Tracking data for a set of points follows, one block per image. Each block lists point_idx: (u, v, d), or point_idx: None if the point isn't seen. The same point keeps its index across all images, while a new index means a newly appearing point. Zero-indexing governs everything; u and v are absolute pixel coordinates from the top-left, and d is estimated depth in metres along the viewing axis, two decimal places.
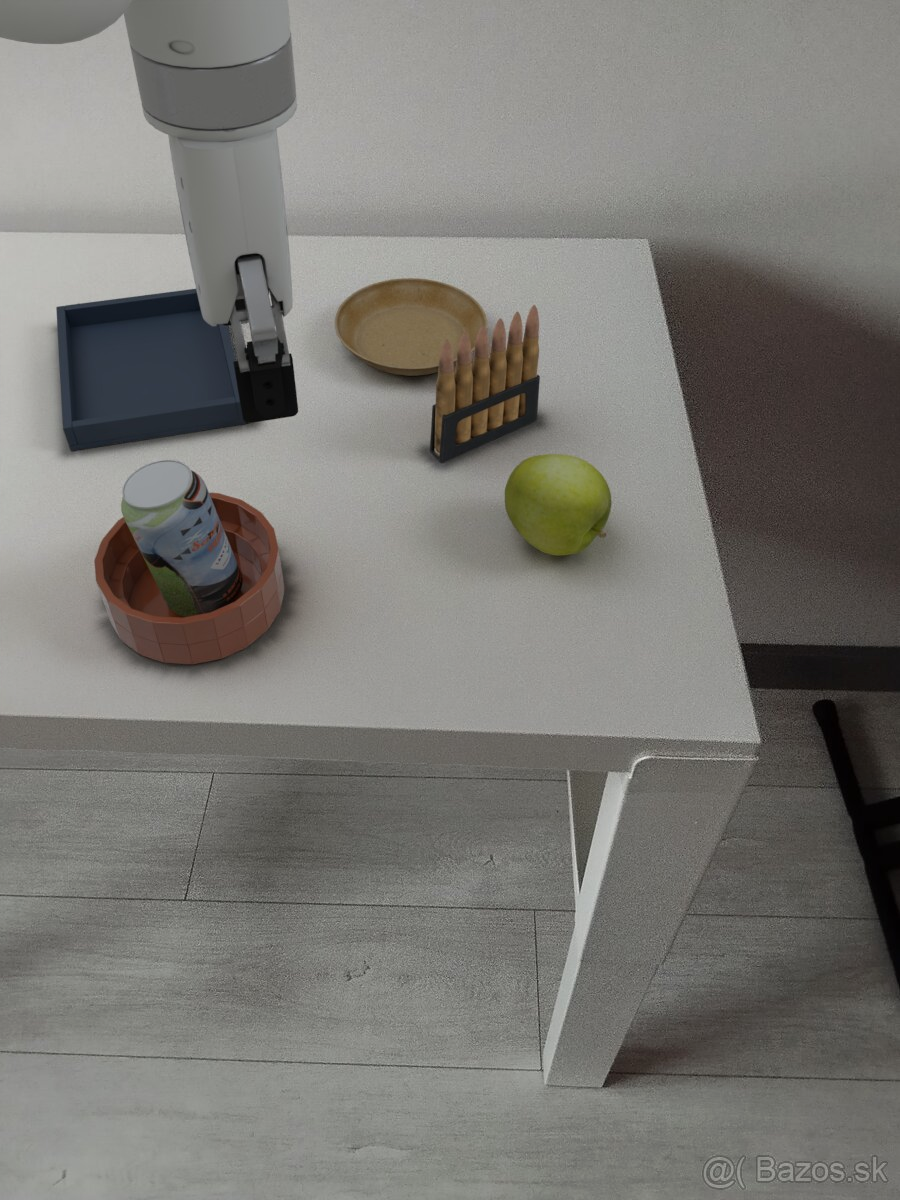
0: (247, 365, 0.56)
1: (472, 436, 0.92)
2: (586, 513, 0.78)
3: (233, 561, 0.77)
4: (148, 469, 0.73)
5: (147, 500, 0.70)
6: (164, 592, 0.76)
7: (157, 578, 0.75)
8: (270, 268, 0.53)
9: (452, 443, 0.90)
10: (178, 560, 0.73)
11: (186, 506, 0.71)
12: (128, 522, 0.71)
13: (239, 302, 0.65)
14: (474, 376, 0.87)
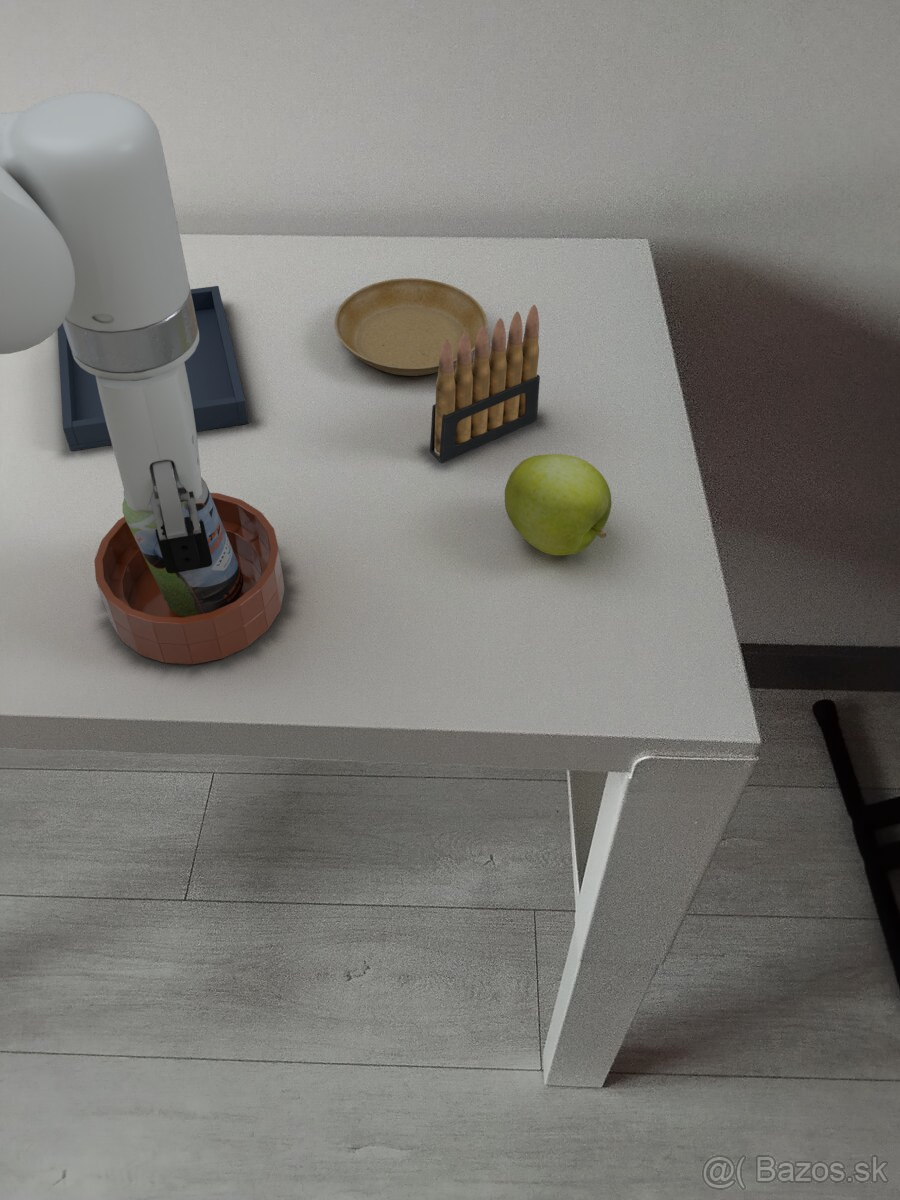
0: (165, 535, 0.69)
1: (472, 436, 0.92)
2: (586, 513, 0.78)
3: (234, 562, 0.77)
4: None
5: None
6: (165, 592, 0.76)
7: (158, 579, 0.75)
8: (180, 469, 0.64)
9: (452, 443, 0.90)
10: None
11: None
12: (129, 523, 0.71)
13: None
14: (474, 376, 0.87)
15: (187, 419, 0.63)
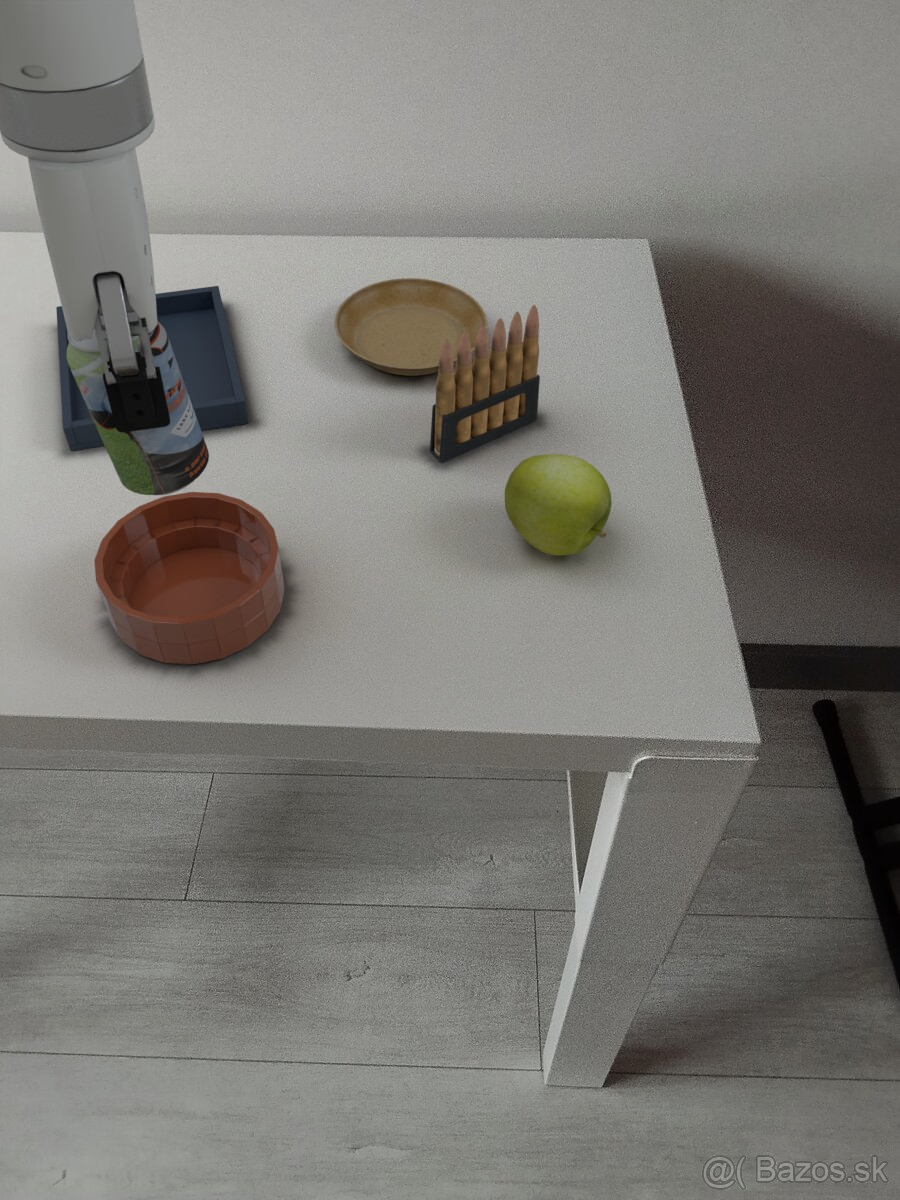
0: (113, 377, 0.58)
1: (472, 436, 0.92)
2: (586, 513, 0.78)
3: (198, 431, 0.67)
4: None
5: (97, 343, 0.60)
6: (117, 463, 0.66)
7: (108, 444, 0.65)
8: (129, 286, 0.54)
9: (452, 443, 0.90)
10: None
11: None
12: (74, 370, 0.61)
13: None
14: (474, 376, 0.87)
15: (138, 221, 0.53)
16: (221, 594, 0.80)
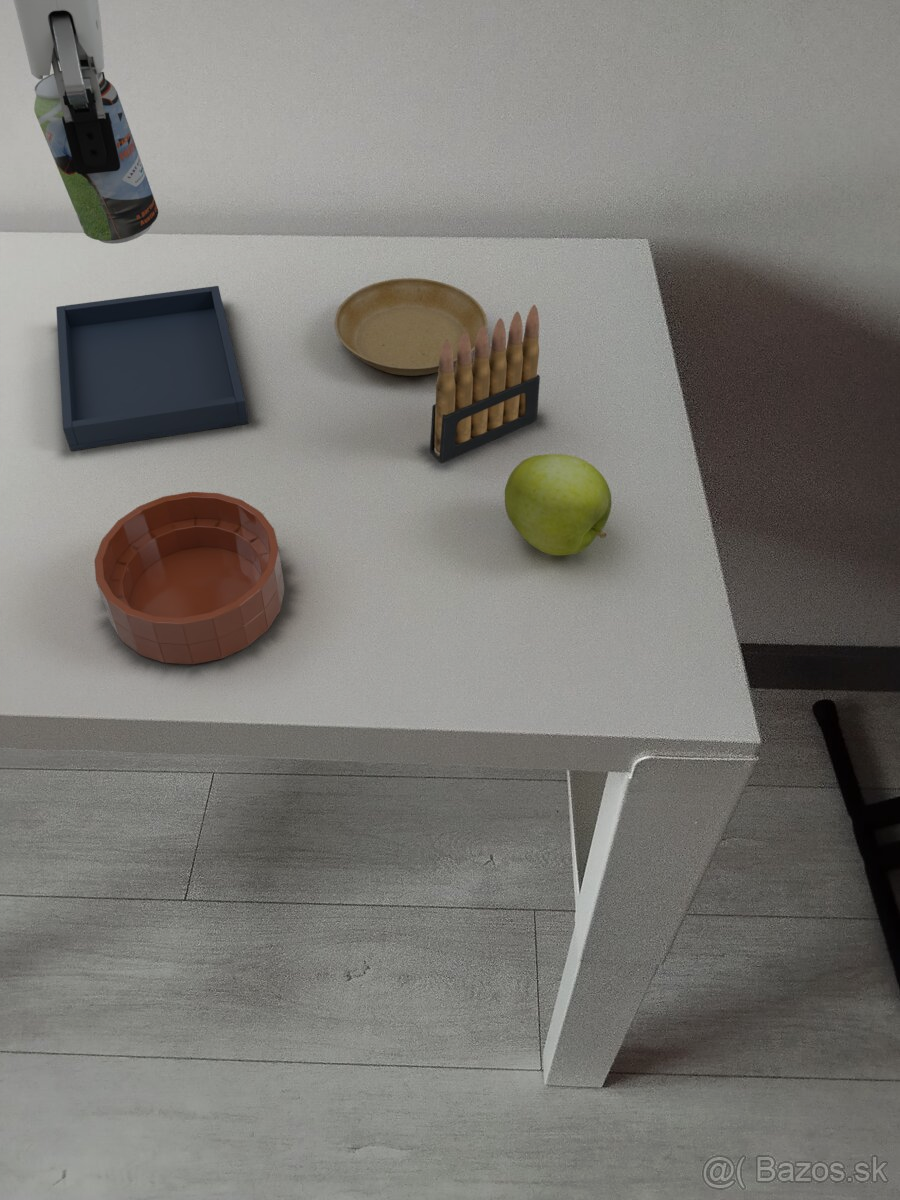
0: (69, 115, 0.72)
1: (472, 436, 0.92)
2: (586, 513, 0.78)
3: (147, 186, 0.80)
4: None
5: None
6: (79, 210, 0.79)
7: (71, 191, 0.78)
8: (78, 25, 0.67)
9: (452, 443, 0.90)
10: None
11: None
12: (40, 117, 0.74)
13: None
14: (474, 376, 0.87)
15: None
16: (221, 594, 0.80)
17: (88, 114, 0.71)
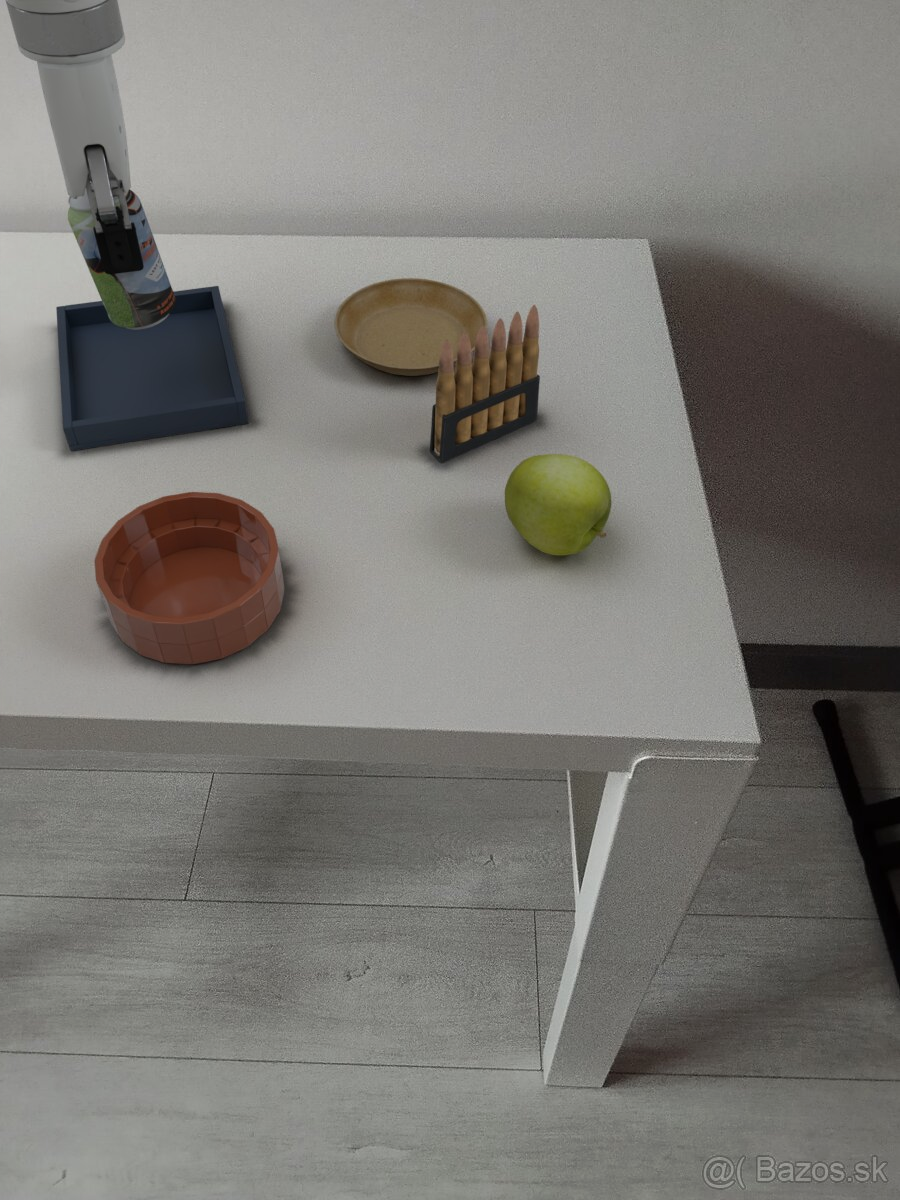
0: (100, 227, 0.82)
1: (472, 436, 0.92)
2: (586, 513, 0.78)
3: (166, 279, 0.90)
4: (92, 185, 0.86)
5: (89, 205, 0.83)
6: (106, 302, 0.89)
7: (100, 286, 0.88)
8: (109, 155, 0.77)
9: (452, 443, 0.90)
10: None
11: None
12: (73, 226, 0.84)
13: None
14: (474, 376, 0.87)
15: (114, 107, 0.76)
16: (221, 594, 0.80)
17: (117, 227, 0.81)
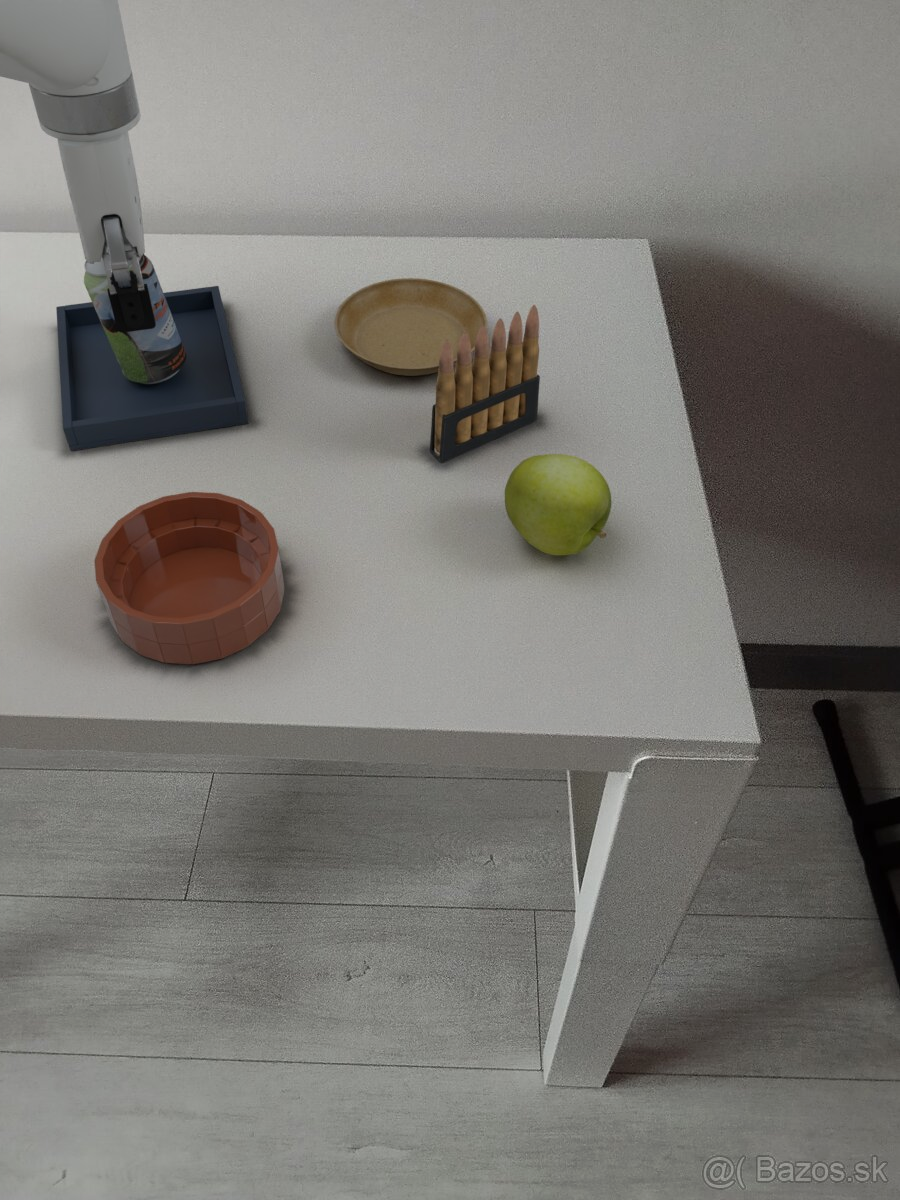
0: (114, 290, 0.84)
1: (472, 436, 0.92)
2: (586, 513, 0.78)
3: (177, 336, 0.95)
4: None
5: (104, 270, 0.88)
6: (120, 359, 0.94)
7: (114, 345, 0.93)
8: (125, 224, 0.82)
9: (452, 443, 0.90)
10: None
11: None
12: (89, 290, 0.89)
13: None
14: (474, 376, 0.87)
15: (130, 180, 0.80)
16: (221, 594, 0.80)
17: (130, 289, 0.84)
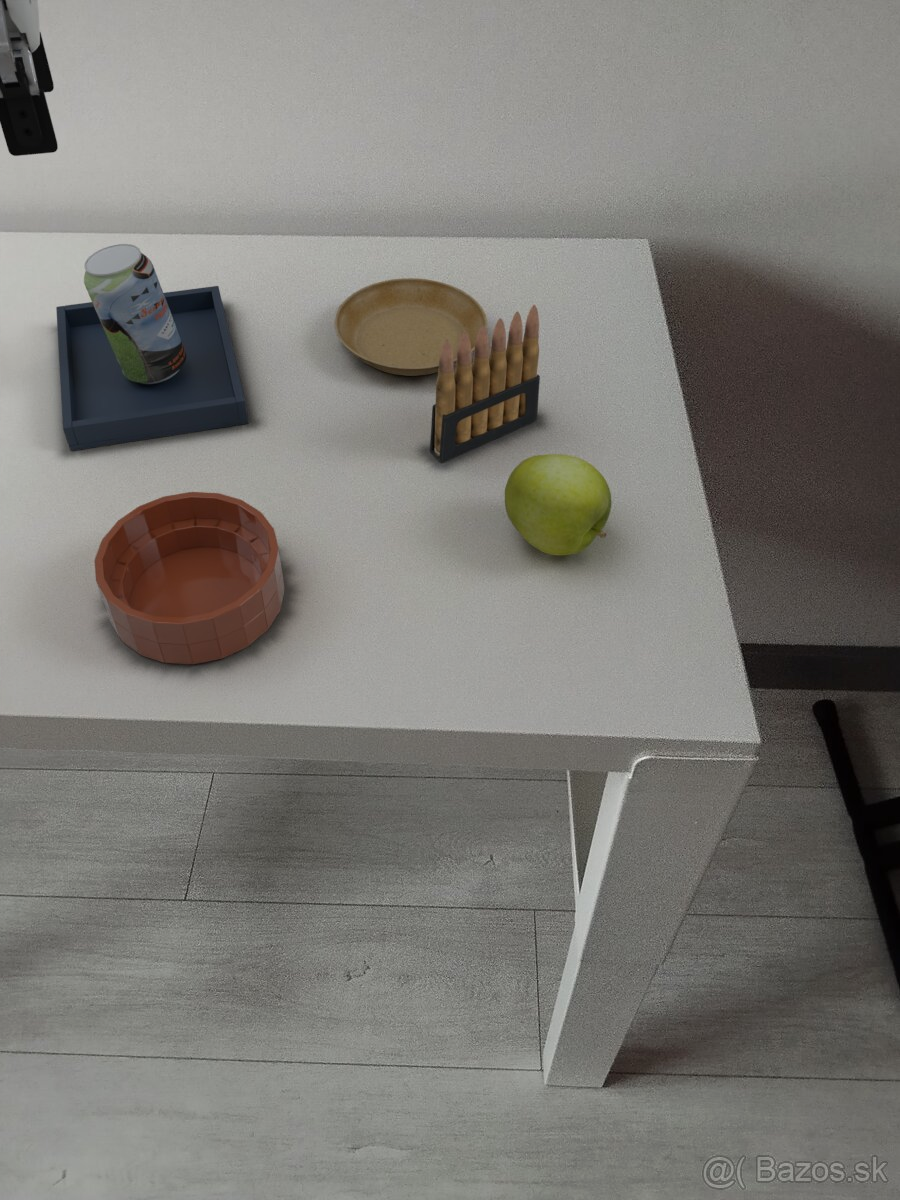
0: None
1: (472, 436, 0.92)
2: (586, 513, 0.78)
3: (177, 336, 0.95)
4: (106, 250, 0.90)
5: (104, 270, 0.88)
6: (120, 359, 0.94)
7: (114, 345, 0.93)
8: None
9: (452, 443, 0.90)
10: (130, 324, 0.90)
11: (135, 275, 0.88)
12: (89, 290, 0.89)
13: None
14: (474, 376, 0.87)
15: None
16: (221, 594, 0.80)
17: (19, 89, 0.67)
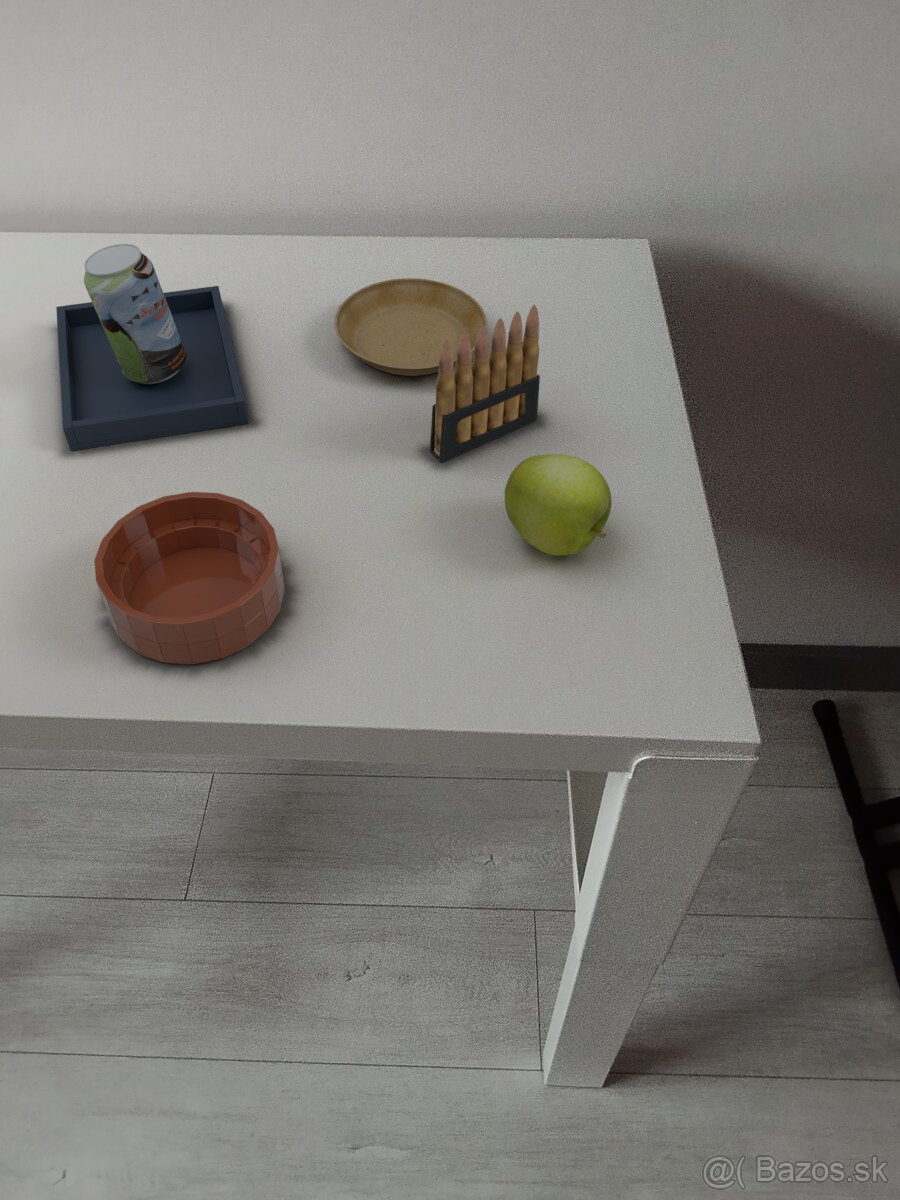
0: None
1: (472, 436, 0.92)
2: (586, 513, 0.78)
3: (177, 336, 0.95)
4: (106, 250, 0.90)
5: (104, 270, 0.88)
6: (120, 359, 0.94)
7: (114, 345, 0.93)
8: None
9: (452, 443, 0.90)
10: (130, 324, 0.90)
11: (135, 275, 0.88)
12: (89, 290, 0.89)
13: None
14: (474, 376, 0.87)
15: None
16: (221, 594, 0.80)
17: None
